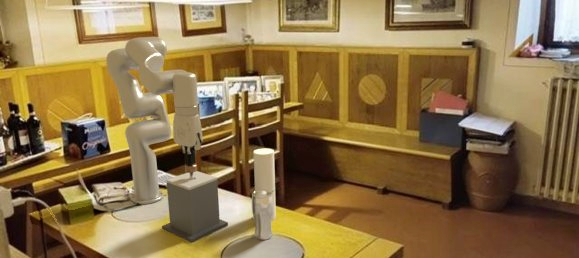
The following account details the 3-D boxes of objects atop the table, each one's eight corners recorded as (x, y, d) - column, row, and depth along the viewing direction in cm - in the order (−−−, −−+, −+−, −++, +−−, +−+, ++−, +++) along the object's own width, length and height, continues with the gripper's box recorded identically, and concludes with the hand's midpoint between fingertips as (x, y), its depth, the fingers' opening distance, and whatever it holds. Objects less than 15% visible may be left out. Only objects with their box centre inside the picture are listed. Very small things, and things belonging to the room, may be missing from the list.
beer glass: (258, 242, 154) (256, 199, 150) (249, 233, 160) (248, 192, 156) (277, 237, 157) (276, 195, 153) (268, 229, 163) (267, 188, 159)
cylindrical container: (276, 213, 175) (275, 148, 169) (274, 222, 168) (272, 154, 162) (257, 213, 176) (255, 148, 170) (254, 221, 169) (251, 154, 163)
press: (162, 229, 164) (157, 180, 160) (200, 212, 177) (197, 166, 173) (191, 242, 155) (187, 191, 150) (230, 224, 167) (228, 176, 163)
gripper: (163, 109, 157) (167, 162, 162) (192, 116, 148) (196, 171, 152) (181, 106, 163) (185, 157, 167) (210, 111, 153) (213, 165, 158)
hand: (190, 164), depth 160 cm, fingers closed
